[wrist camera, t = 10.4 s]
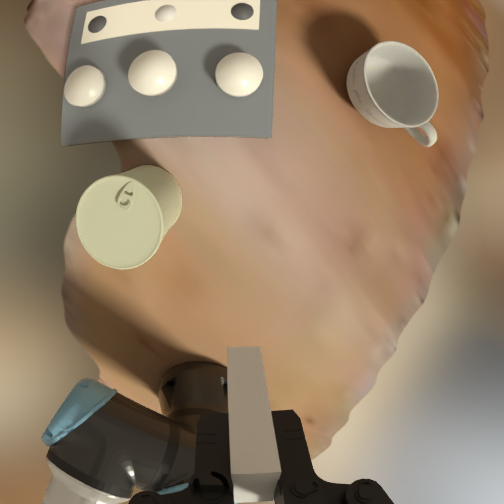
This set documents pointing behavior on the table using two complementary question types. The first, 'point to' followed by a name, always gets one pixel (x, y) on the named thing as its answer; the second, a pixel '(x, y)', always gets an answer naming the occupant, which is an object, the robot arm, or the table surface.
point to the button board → (188, 63)
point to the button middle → (153, 73)
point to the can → (128, 215)
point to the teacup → (395, 89)
